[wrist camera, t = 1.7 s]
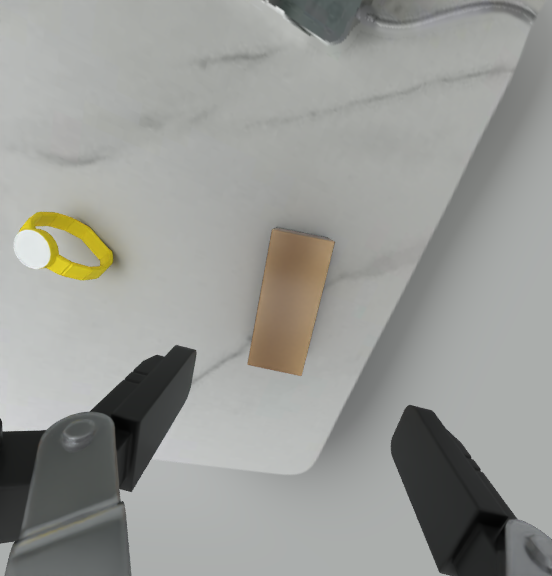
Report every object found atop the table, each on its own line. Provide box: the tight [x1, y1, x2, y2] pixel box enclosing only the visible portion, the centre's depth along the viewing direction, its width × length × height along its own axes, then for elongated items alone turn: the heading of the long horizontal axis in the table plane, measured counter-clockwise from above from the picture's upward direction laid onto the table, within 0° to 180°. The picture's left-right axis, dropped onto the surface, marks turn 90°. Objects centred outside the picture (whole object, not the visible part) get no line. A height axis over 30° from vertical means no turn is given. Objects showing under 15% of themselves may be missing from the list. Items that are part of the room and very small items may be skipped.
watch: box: [14, 212, 113, 280], centre depth 21 cm, size 6×3×6 cm, turn 41°
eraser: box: [248, 227, 335, 376], centre depth 22 cm, size 4×11×4 cm, turn 169°
